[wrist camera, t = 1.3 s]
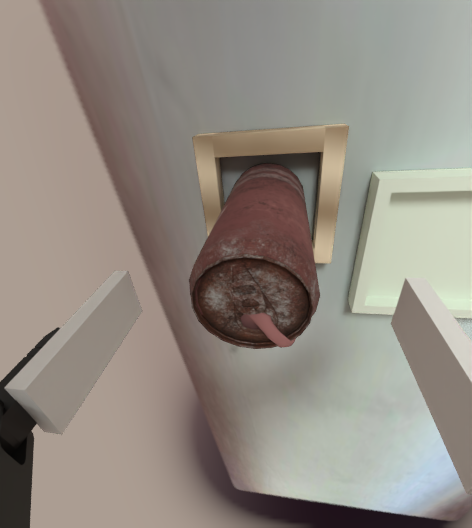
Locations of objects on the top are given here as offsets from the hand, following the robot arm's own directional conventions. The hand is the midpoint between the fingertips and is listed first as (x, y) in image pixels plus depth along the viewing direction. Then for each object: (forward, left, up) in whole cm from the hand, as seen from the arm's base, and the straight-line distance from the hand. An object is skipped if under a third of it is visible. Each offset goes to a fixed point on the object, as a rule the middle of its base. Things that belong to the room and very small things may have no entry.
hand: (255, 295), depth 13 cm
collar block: (+3, 0, -12) cm, 13 cm away
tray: (+4, +15, -13) cm, 20 cm away
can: (0, 0, -13) cm, 13 cm away
